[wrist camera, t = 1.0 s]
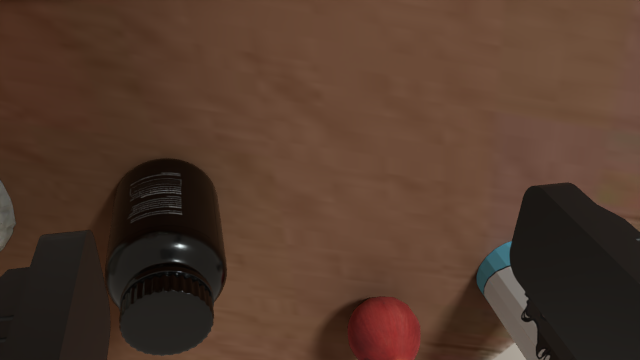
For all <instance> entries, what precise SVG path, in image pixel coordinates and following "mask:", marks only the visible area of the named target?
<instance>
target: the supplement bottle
mask: <svg viewBox="0 0 640 360" xmlns="http://www.w3.org/2000/svg"><path fill="white" fill-rule="evenodd" d="M226 276H227V267H226V257H225V250H224V242H223V235H222V227H221V220H220V213H219V205H218V199H217V194H216V190H215V187H214V185H213V183H212V181H211V180H210V178H209V177H208V176H207V175H206V174H205V173H204V172H203V171H202V170H201V169H199V168H198V167H196V166H195V165H193V164H190V163H188V162H185V161H182V160H177V159H156V160H151V161H148V162H145V163H143V164H140V165H138V166H137V167H135V168H134V169H132V170H131V171H130V172H129V173H127V175H126V176H125V177H124V178H123V179H122V181H121V182H120V184H119V186H118V188H117V191H116V195H115V200H114V206H113V213H112V221H111V228H110V236H109V243H108V251H107V258H106V265H105V285H106V289H107V291H108V294H109V296H110V297H111V299H112V301H113V302H114V303H115V304H116V306H117V307H118V308H119V310H120V318H119V323H120V331H121V332H122V337H123V338H125V341H126V342H127V343H129V344H130V346H131V347H133V348H136V350H137V351H142V352H143V353H145V354H152V355H161V356H164V355H173V354H179V353H182V352H183V351H188V350H190V349H191V348H194V347H196V346H197V345H198V344H199V343H201V342H202V341H203V339H205V338H206V337H207V335H208V333H209V332H210V331H211V327H212V326H213V319H214V311H213V306H214V302H215V301H216V299H217V298H218V297H219V295H220V293H221V292H222V290H223V287H224V285H225V282H226Z"/></svg>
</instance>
